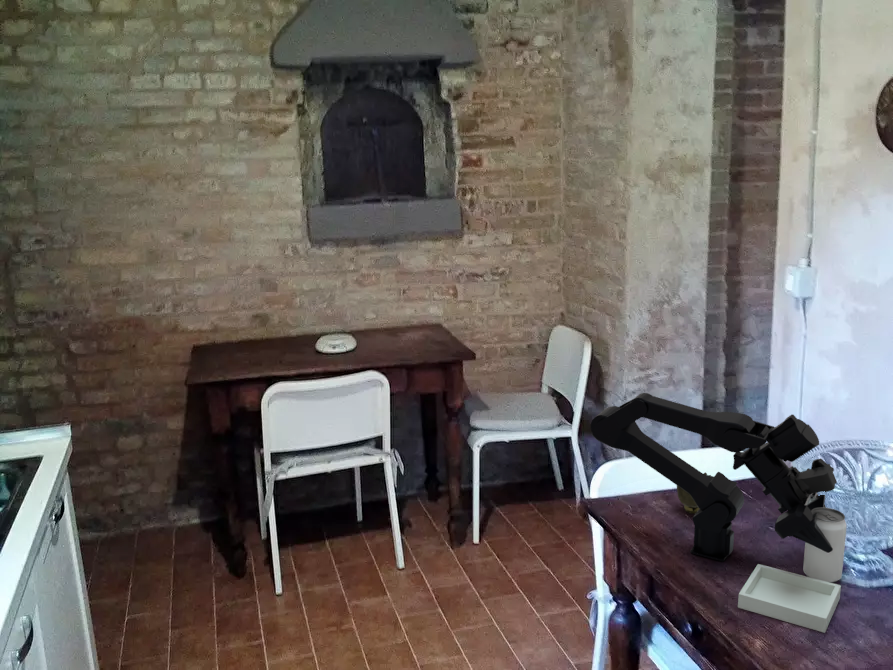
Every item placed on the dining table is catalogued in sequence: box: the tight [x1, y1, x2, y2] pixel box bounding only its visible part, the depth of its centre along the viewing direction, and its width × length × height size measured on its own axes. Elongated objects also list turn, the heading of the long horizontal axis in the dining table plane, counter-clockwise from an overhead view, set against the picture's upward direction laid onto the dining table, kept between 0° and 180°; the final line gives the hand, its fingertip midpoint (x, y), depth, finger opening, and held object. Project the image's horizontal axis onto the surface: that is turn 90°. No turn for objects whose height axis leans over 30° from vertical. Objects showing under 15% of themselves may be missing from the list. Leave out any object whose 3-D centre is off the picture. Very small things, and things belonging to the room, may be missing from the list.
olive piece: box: [676, 472, 712, 515], centre depth 180 cm, size 8×7×8 cm
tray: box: [737, 563, 842, 634], centre depth 145 cm, size 14×12×3 cm
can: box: [802, 507, 848, 584], centre depth 152 cm, size 6×6×12 cm
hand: (833, 543), depth 151 cm, fingers closed on can, 6 cm apart
